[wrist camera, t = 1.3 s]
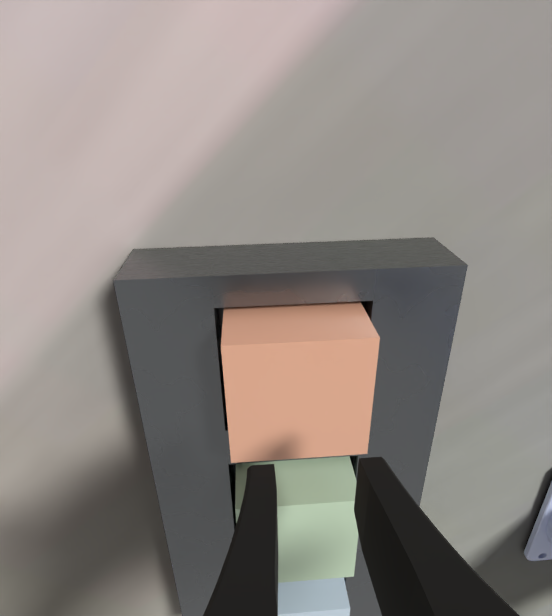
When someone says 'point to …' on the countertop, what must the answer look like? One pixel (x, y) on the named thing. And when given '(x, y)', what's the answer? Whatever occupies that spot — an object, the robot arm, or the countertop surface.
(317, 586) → the blue-grey button
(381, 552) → the robot arm
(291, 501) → the sage button
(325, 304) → the terracotta button
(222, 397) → the button panel
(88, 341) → the countertop surface
